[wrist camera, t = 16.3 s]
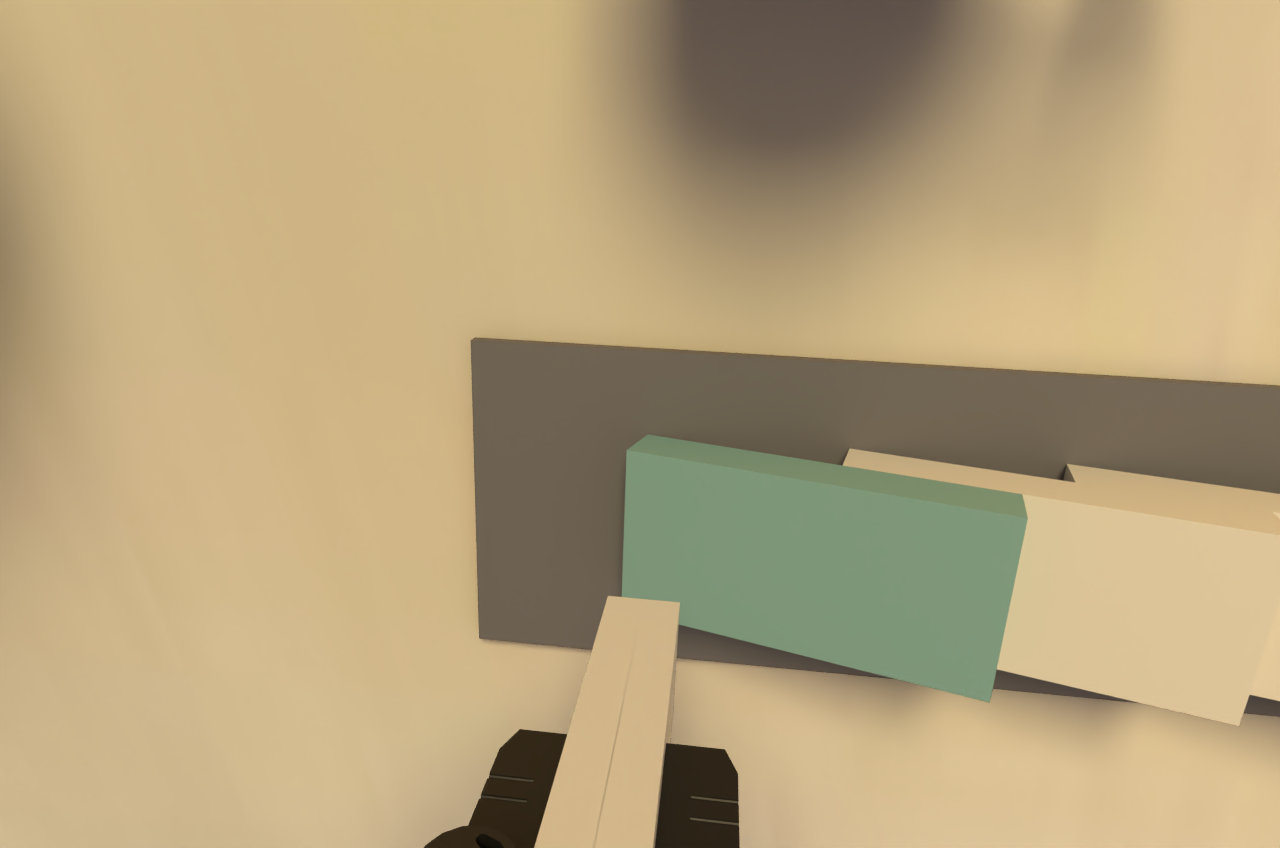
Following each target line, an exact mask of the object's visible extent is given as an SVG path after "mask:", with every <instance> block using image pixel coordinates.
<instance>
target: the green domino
mask: <svg viewBox="0 0 1280 848" xmlns="http://www.w3.org/2000/svg"><path fill="white" fill-rule="evenodd" d="M1027 520H1028V516H1027V512H1026V508H1025V503H1024V499H1023V495H1022V494H1018V493H1012V492H1005V491H999V490H993V489H987V488H980V487H974V486H968V485H961V484H955V483H949V482H943V481H936V480H930V479H924V478H918V477H911V476H905V475H899V474H893V473H886V472H880V471H874V470H868V469H861V468H855V467H849V466H843V465H836V464H830V463H824V462H818V461H811V460H805V459H799V458H793V457H786V456H780V455H774V454H767V453H761V452H755V451H749V450H742V449H736V448H730V447H724V446H717V445H711V444H705V443H699V442H692V441H686V440H680V439H674V438H667V437H661V436H655V435H649V434H648V435H646V436H645V437H644V438H642V439H641V440H640V441H638V442H637V443H636V444H634V445H633V446H632V447H630V448H629V449H628V450H627V455H626V485H625V514H624V544H623V573H622V597H626V598H637V599H648V600H659V601H670V602H680V610H679V625H683V626H687V627H691V628H695V629H699V630H703V631H707V632H711V633H715V634H719V635H723V636H727V637H731V638H735V639H739V640H743V641H747V642H751V643H755V644H759V645H763V646H767V647H771V648H775V649H779V650H783V651H787V652H791V653H795V654H799V655H803V656H806V657H810V658H814V659H818V660H822V661H826V662H830V663H834V664H838V665H842V666H846V667H850V668H854V669H858V670H862V671H866V672H870V673H874V674H878V675H882V676H886V677H890V678H894V679H898V680H902V681H906V682H910V683H914V684H918V685H922V686H926V687H930V688H934V689H938V690H942V691H946V692H950V693H954V694H958V695H962V696H966V697H970V698H973V699H977V700H981V701H985V702H989V703H990V699H991V694H992V689H993V684H994V680H995V675H996V670H997V665H998V660H999V655H1000V651H1001V646H1002V641H1003V636H1004V631H1005V626H1006V622H1007V617H1008V612H1009V607H1010V602H1011V597H1012V593H1013V588H1014V583H1015V578H1016V573H1017V568H1018V564H1019V559H1020V554H1021V549H1022V544H1023V539H1024V535H1025V530H1026V525H1027Z"/></svg>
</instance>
